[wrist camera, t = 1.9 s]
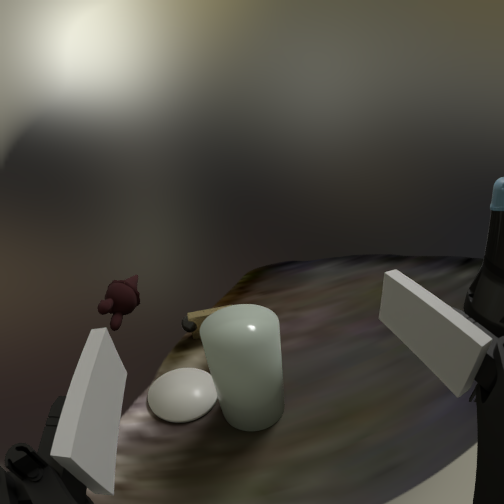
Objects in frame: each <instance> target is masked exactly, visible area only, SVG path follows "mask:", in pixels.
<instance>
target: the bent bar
mask: <svg viewBox="0 0 504 504" xmlns="http://www.w3.org/2000/svg"><path fill="white" fill-rule="evenodd" d="M228 306H232V305H228ZM228 306H223V307H218V308H212V309H207V310H202V311H196V312H190V313H188V316H186V317H184V318H183V320H182V323H181V325H182V328H183V329H184V330H185V331H186V332H192V336H193V339H200V338H201V336H200V327H201V324H202V323H203V321H204V320H205V319H206V318H207V317H208V316H209V315H211V314H212V313H214V312H215V311H217V310H220V309H222V308H225V307H228Z"/></svg>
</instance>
